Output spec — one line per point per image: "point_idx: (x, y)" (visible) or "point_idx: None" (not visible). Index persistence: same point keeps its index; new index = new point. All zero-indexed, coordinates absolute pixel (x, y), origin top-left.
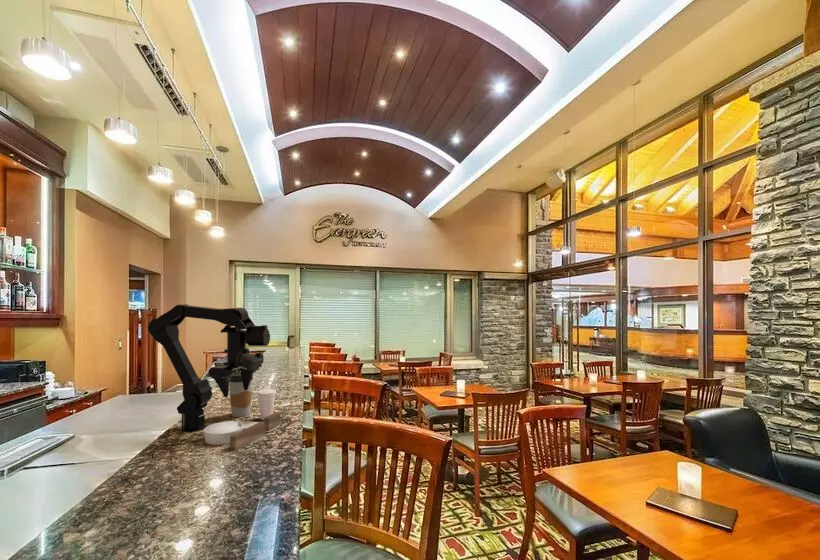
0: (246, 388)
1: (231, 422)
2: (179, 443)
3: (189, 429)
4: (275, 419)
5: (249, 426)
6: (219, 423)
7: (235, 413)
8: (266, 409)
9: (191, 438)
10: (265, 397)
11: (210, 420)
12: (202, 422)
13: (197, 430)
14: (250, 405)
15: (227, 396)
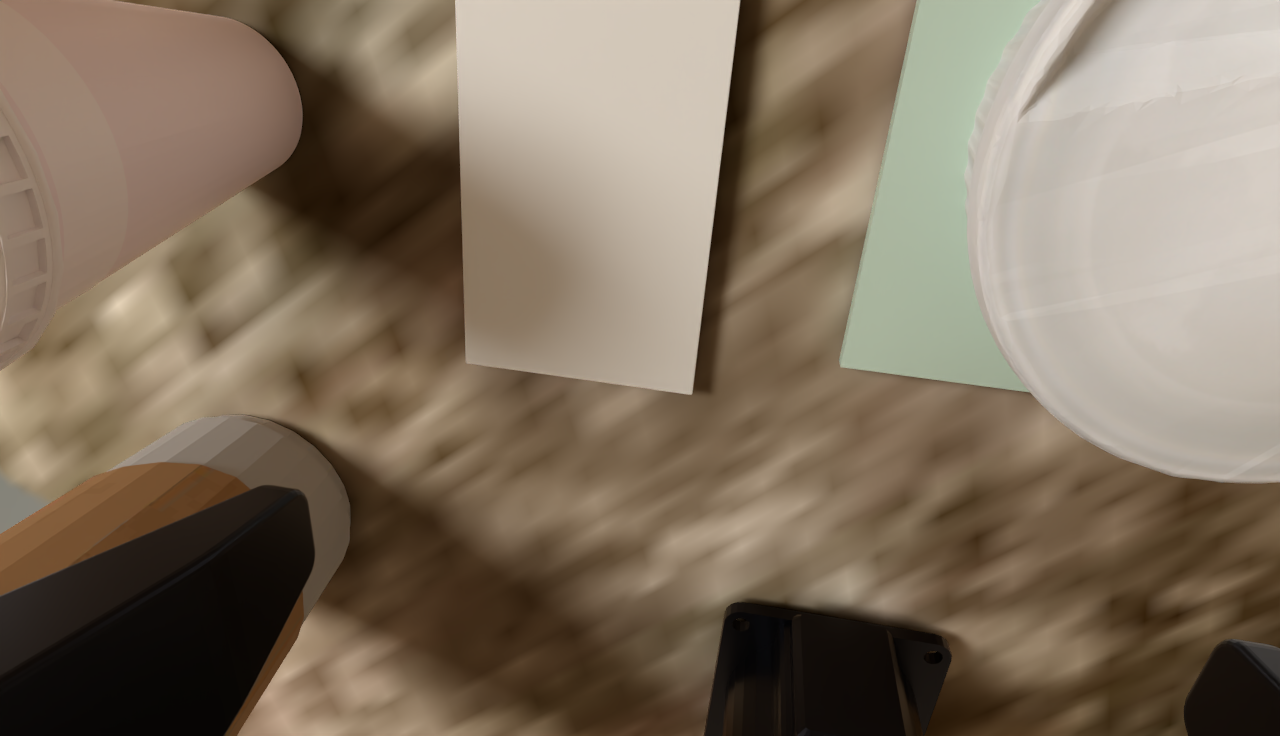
0: (279, 530)
1: (1056, 214)
2: (1255, 601)
3: (913, 698)
4: None
5: (649, 98)
6: (1111, 382)
7: (338, 527)
8: (184, 59)
9: (1089, 570)
10: (9, 89)
11: (531, 668)
12: (834, 663)
13: (881, 627)
14: (120, 463)
15: (1274, 647)
